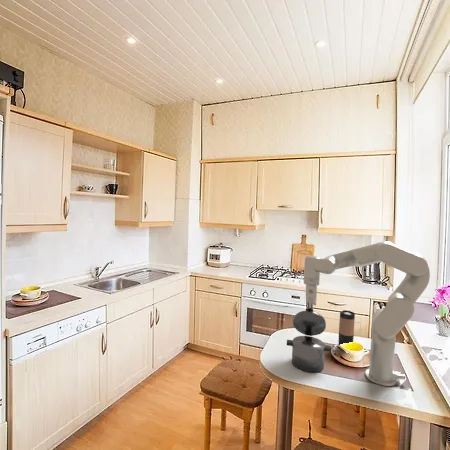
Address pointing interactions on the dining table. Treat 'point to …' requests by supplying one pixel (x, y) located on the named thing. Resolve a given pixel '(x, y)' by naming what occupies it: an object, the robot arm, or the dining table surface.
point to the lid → (309, 323)
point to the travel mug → (346, 326)
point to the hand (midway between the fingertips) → (309, 316)
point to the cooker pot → (308, 353)
